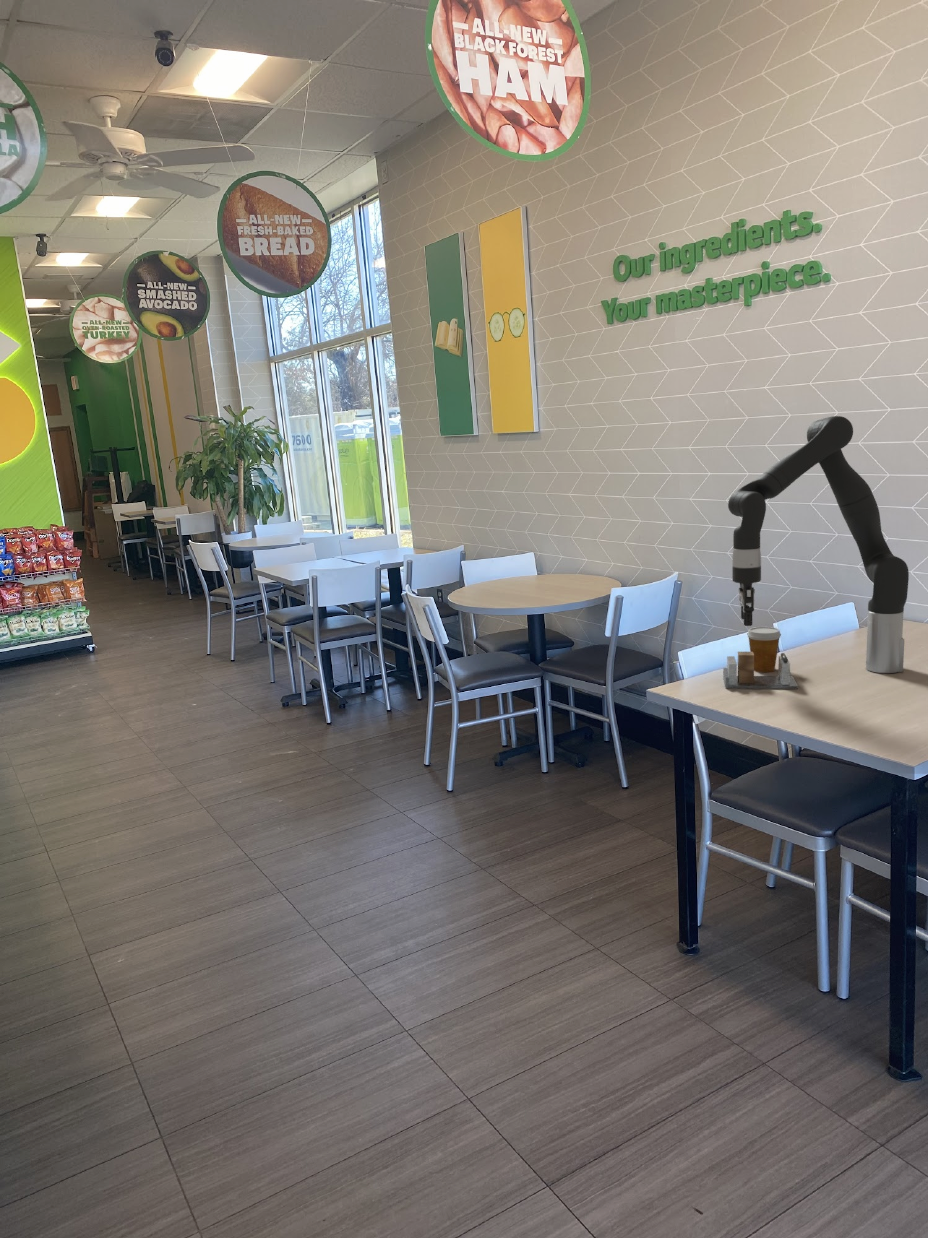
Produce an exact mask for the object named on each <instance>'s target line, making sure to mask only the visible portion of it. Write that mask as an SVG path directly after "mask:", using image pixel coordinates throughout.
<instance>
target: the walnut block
mask: <svg viewBox="0 0 928 1238" xmlns="http://www.w3.org/2000/svg"><path fill="white" fill-rule="evenodd" d="M737 676H738V681H739V683H754V676H755V671H754V653H753V652H750V651H737Z"/></svg>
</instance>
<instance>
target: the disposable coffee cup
mask: <svg viewBox="0 0 928 1238" xmlns="http://www.w3.org/2000/svg"><path fill="white" fill-rule="evenodd" d="M746 635H747V638H748V643H749V650H750V651H749V652H753V653H754V672H759V673H771V672H774V671H775V670H776V664H777V663H776V662H777V658H778V657H777V656H778V650H779V644H780V643H779V641H780V638H781V637H782V634H781V632H780V629H778V628H777V627H771V626H756V627H750V628H749V629H748V631H747V634H746Z"/></svg>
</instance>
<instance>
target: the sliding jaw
mask: <svg viewBox="0 0 928 1238" xmlns="http://www.w3.org/2000/svg"><path fill="white" fill-rule="evenodd" d="M777 670H778V673H777V676H778V677H779V679H780V681H781V684H782V685H790V676H791V663H790V661H789V659H788V657H787V655H786V654H785V652H782V653H781V654H780V655H778V669H777Z"/></svg>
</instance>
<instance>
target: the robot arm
mask: <svg viewBox="0 0 928 1238" xmlns="http://www.w3.org/2000/svg"><path fill="white" fill-rule="evenodd" d="M853 435H854V427H853V424H852V422H851V421H850V420H849V419H848V418H847V417H844V416H841V415H834V416H829V417H825V418H824V417H823V418H821V419H818V420H815V421H813V422H812V423H811V424H810V425H809V426H808V428H807V431H806V439H807V440H806V441H807V443H805V444H804V445H802V446H801V447H800V448H798V449H797V450H795V451H794V452H793V451H792V453H790V454H788V455H786V456H785V457H783V458H782V459H780V460H779V461H777V462H776V463H774V464H773V465H771V466H770V467H769V468H768V469H767V470H766V471H765V472H763V473H762V474H760V476H758V477H757V478H756V479H753V480H752V481H750V482H748V483H746V484H744V485H743V486H741V487H740V488H738V489H737V490H736V491H734V492H733V493H732V494H731V496H730V498H729V500H728V502H727V507H728V510H729V512H730V513H731V514H732V515H734V516H736V517H740V518H741V524H740V525H739V526H737V527H736V528H735V529H734V530H733V534H732V535H733V536H732V537H733V538H732V539H733V540H732V541H733V545H732V547H733V549H732V550H733V551H732V557H731V558H732V559H731V560H732V561H731V562H732V568H731V569H732V570H731V572H732V573H731V574H732V577H731V579H732V582H734V583H737V584H739V587H738V594H739V595H738V598H739V599H738V600H739V605H740V611H741V612H740V618H741V620H743V626H745V627H751V626H753V613H754V611H755V608H754V607H755V606H754V605H755V592H756V591H755V588H754V586H753V584H756V583H759V582H761V581H762V553H761V552H762V551H761V531H762V528H763V524H764V520H765V517H766V511H767V503H766V500H769V499H774V498H775V497H778V495H780V494H781V493H782V492H784V491H786V489H788V488H789V486H790V485H792V484H793V483H795V481H796V480H797V479H799V478H800V477H801V476H802V475H804V474H805V473H807V472H808V471H809V470H811V469H812V468H813V467H815V466H816V465H817V464H819V465H820V468H821V469H822V471H823V473H824V475H825V477H826V479H827V481H828V484H829V486H830V488H831V491H832V493H833V495H834V497H835V501H836V503H837V506H838V508H839V510H840V513H841V514H842V517H843V519H844V521H845V523H846V525H847V527H848V529H849V532H850V533H851V534H850V535H852V537H853V540H854V542H855V543H856V546H857V548H858V550H859V551H858V552H859V554H860V557H861V560H862V561H861V562H862V565H863V568H864V570H865V574H866V576H867V579H869V580H870V581H871V582H872V583H873V588H872V596H871V599H869V601H868V603H867V624H866V625H867V627H866V628H867V629H866V648H865V649H866V651H865V652H866V653H865V655H866V657H865V669H866V670H867V671H869V672H874V673H880V674H895V673H900V672H901V673H903V672H904V662H905V661H904V658H905V638H904V637H903V636H904V635H903V632H904V630H903V629H904V612H905V611H904V610H905V605H906V603H907V599H908V591H909V579H910V577H909V576H910V575H909V574H910V571H909V567H908V564H907V563H906V561H905V560H904V559H902V558H900V557H898V556H896V555H894V554H893V553H892V550H891V549H890V547H889V545H888V543H887V541H886V539H885V538H884V535H883V530H882V525H881V523H882V522H881V515H880V509H879V506H878V504H877V501H876V498H875V496H874V493H873V491H872V489H871V487H870V485H869V484H868V483H867V482H866V480H865V479H864V478H863V477H862V476H861V475H860V474H859V473H858V472H857V471H856V470H855V469H854V468H853V467H852V466H851V465H850V464H849V462H848V460H847V459H846V457H845V455H844V453H843V450H842V449H843V448H845V447H846V446H848V445H849V443H850V442H851V441H852V439H853Z"/></svg>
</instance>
